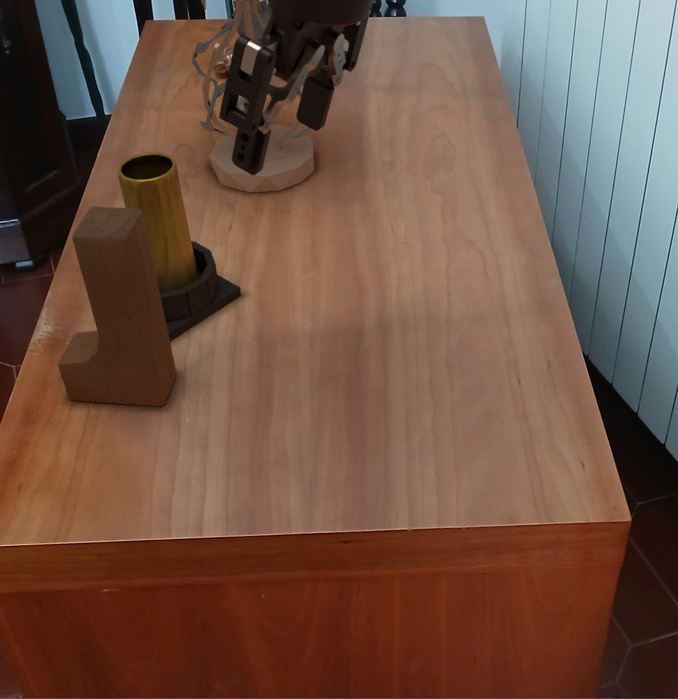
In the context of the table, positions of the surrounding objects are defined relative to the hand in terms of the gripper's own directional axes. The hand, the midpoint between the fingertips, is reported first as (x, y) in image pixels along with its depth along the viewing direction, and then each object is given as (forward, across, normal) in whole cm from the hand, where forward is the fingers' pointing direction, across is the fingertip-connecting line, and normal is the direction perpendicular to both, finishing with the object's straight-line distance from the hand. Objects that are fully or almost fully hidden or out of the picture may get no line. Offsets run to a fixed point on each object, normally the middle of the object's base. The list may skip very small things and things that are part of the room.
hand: (278, 145), depth 68 cm
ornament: (+31, -53, -36) cm, 71 cm away
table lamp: (+27, -32, -17) cm, 46 cm away
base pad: (+27, -6, -10) cm, 30 cm away
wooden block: (+27, +7, -6) cm, 29 cm away
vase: (+26, -6, -10) cm, 29 cm away
